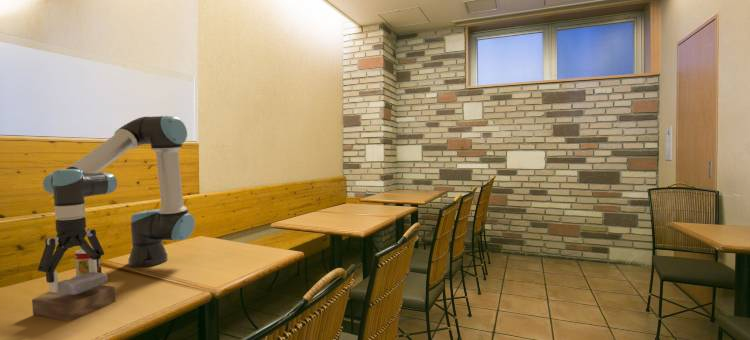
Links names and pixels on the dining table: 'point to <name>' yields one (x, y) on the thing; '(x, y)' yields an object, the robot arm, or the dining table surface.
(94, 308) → the walnut plinth
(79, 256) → the canned food
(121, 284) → the dining table surface
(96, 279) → the stone block
